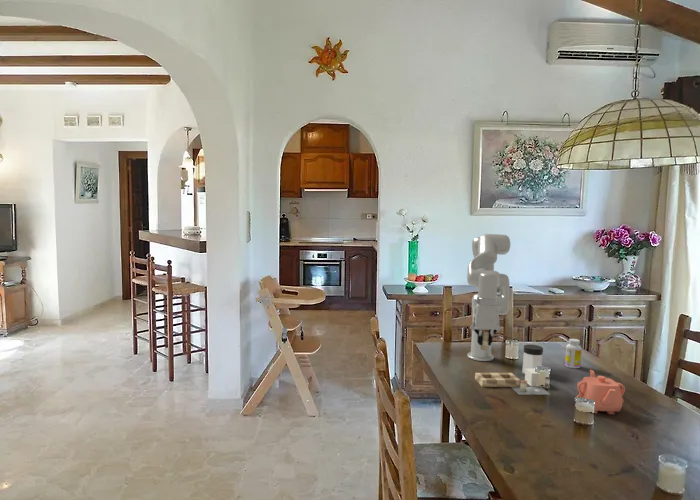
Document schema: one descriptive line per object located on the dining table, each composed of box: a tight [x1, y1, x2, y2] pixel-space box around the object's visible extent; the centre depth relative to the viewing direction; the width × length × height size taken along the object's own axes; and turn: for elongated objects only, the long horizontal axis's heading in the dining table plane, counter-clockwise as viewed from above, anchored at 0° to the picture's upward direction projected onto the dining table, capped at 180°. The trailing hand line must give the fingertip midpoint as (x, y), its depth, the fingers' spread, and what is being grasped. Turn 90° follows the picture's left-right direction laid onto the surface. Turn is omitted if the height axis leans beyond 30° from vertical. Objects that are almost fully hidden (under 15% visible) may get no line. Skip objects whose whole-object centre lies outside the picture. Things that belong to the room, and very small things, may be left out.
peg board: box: [474, 372, 521, 388], centre depth 214 cm, size 9×16×3 cm, turn 95°
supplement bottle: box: [564, 338, 583, 369], centre depth 240 cm, size 7×7×13 cm
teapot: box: [576, 369, 626, 415], centre depth 190 cm, size 15×17×13 cm
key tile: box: [510, 379, 552, 396], centre depth 206 cm, size 8×13×4 cm, turn 95°
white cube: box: [524, 369, 540, 387], centre depth 214 cm, size 6×6×6 cm
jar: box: [521, 344, 544, 375], centre depth 229 cm, size 9×8×12 cm
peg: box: [480, 329, 489, 350], centre depth 217 cm, size 3×3×8 cm
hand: (484, 344), depth 217 cm, fingers closed on peg, 3 cm apart
